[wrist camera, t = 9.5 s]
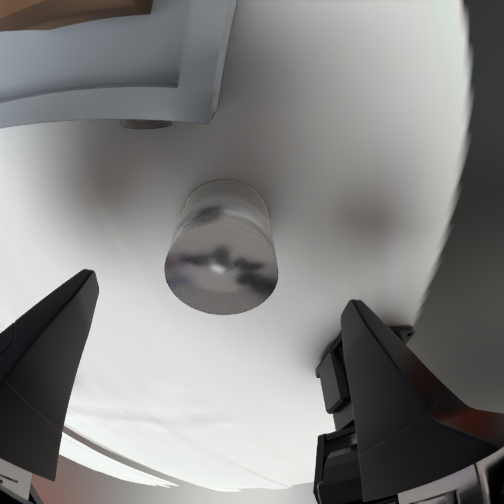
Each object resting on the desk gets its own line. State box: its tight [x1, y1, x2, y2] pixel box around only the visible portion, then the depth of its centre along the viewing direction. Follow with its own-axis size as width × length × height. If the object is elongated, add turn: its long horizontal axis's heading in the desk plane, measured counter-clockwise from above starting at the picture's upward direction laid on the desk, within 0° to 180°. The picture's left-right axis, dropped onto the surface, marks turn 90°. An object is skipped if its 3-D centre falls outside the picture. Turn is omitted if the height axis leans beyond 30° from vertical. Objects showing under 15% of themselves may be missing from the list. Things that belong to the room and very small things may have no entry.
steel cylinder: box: [164, 179, 278, 315], centre depth 12 cm, size 4×4×4 cm
